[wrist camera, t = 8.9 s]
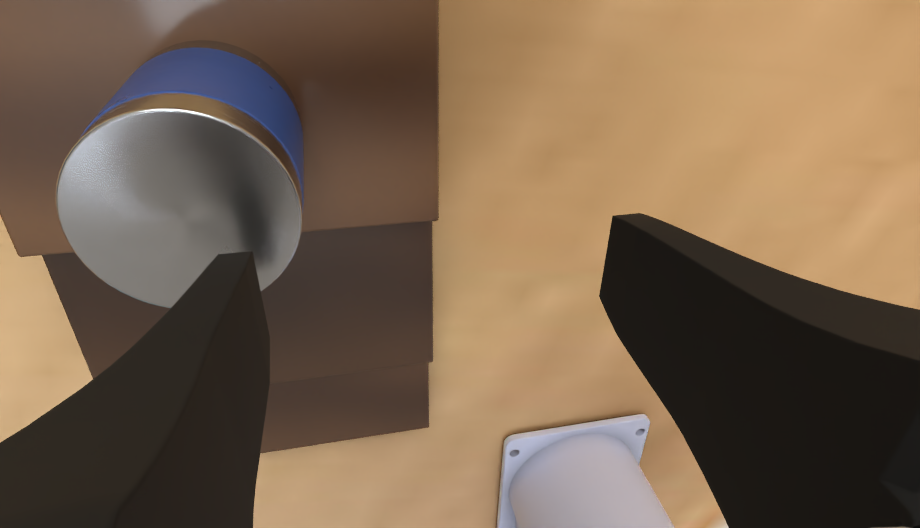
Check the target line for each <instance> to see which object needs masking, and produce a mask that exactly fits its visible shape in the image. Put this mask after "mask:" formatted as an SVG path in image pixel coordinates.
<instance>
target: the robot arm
mask: <svg viewBox="0 0 920 528" xmlns="http://www.w3.org/2000/svg"><path fill="white" fill-rule="evenodd" d="M599 297H600V299H601V302H602V304H603V306H604V308H605V311H606V313H607V315H608V317H609V319H610V321H611V323H612V325H613V328H614V330H615V332H616V334H617V335H618V337H619V338H620V340H621V342H622V343H623V345H624V346H625V348H626V349H627V351H628V352H629V354H630V355H631V357H632V358H633V360H634V361H635V363H636V364H637V366H638V367H639V369H640V370H641V372H642V373H643V375H644V376H645V378H646V379H647V381H648V382H649V384H650V385H651V387H652V388H653V389H654V391H655V392H656V394H657V395H658V397H659V398H660V400H661V401H662V403H663V404H664V406H665V407H666V409H667V410H668V412H669V413H670V415H671V416H672V418H673V419H674V421H675V423H676V424H677V426H678V428H679V429H680V431H681V433H682V434H683V436H684V438H685V440H686V442H687V444H688V446H689V448H690V449H691V451H692V453H693V455H694V457H695V459H696V461H697V463H698V465H699V467H700V469H701V470H702V472H703V474H704V476H705V478H706V481H707V483H708V485H709V487H710V489H711V491H712V493H713V495H714V497H715V499H716V501H717V503H718V505H719V507H720V509H721V512H722V514H723V516H724V518H725V520H726V522H727V525H728V527H729V528H920V310H918V309H913V308H908V307H903V306H899V305H895V304H891V303H887V302H882V301H878V300H874V299H870V298H866V297H862V296H858V295H854V294H851V293H847V292H844V291H840V290H837V289H833V288H830V287H827V286H824V285H821V284H818V283H814V282H811V281H808V280H805V279H802V278H799V277H796V276H793V275H790V274H787V273H785V272H782V271H779V270H777V269H774V268H772V267H769V266H766V265H764V264H761V263H759V262H756V261H753V260H751V259H749V258H746V257H744V256H741V255H739V254H737V253H734V252H732V251H730V250H727V249H725V248H723V247H720V246H718V245H716V244H714V243H711V242H709V241H707V240H705V239H702V238H700V237H698V236H696V235H693V234H691V233H689V232H687V231H684V230H682V229H680V228H678V227H675V226H673V225H671V224H668V223H666V222H663V221H661V220H658V219H656V218H653V217H650V216H647V215H644V214H640V213H638V214H627V215H617V216H613V217H612V223H611V229H610V235H609V241H608V247H607V253H606V259H605V265H604V271H603V277H602V283H601V289H600V295H599ZM269 385H270V335H269V330H268V325H267V320H266V315H265V310H264V305H263V300H262V295H261V290H260V285H259V280H258V275H257V270H256V265H255V261H254V256H253V251H246V252H236V253H226V254H218V255H217V256H216V257H215V258H214V260H213V261H212V262H211V263H210V264H209V265H208V266H207V267H206V268H205V270H204V271H203V272H202V273H201V274H200V275H199V277H198V278H197V279H196V280H195V281H194V282H193V284H192V285H191V286H190V287H189V288H188V289H187V291H186V292H185V293H184V294H183V295H182V296H181V297H180V298H179V300H178V301H177V302H176V303H175V304H174V305H173V306H172V307H171V308H170V309H169V311H168V312H167V313H166V314H165V315H164V316H163V317H162V318H161V319H160V320H159V321H158V322H157V323H156V324H155V325H154V326H153V327H152V328H151V329H150V330H149V331H148V332H147V333H146V334H145V335H144V336H143V337H142V338H141V339H140V340H139V341H138V342H137V343H135V344H134V345H133V346H132V347H131V348H130V349H129V350H128V351H127V352H126V353H125V354H123V355H122V356H121V357H120V358H119V359H118V360H116V361H115V362H114V363H113V364H112V365H111V366H109V367H108V368H107V369H106V370H104V371H103V372H102V373H101V374H99V375H98V376H97V377H96V378H94V379H93V380H92V381H91V382H89V383H88V384H87V385H85V386H84V387H83V388H81V389H80V390H79V391H77V392H76V393H75V394H73V395H72V396H70V397H69V398H67V399H66V400H64V401H63V402H62V403H60V404H59V405H57V406H56V407H54V408H53V409H51V410H50V411H48V412H47V413H46V414H44V415H43V416H41V417H40V418H38V419H37V420H35V421H34V422H32V423H31V424H30V425H28V426H27V427H25V428H23V429H22V430H20V431H19V432H17V433H15V434H14V435H12V436H10V437H9V438H7V439H6V440H4V441H2V442H1V443H0V528H253V507H254V497H255V486H256V478H257V471H258V464H259V457H260V450H261V443H262V436H263V429H264V422H265V415H266V407H267V400H268V392H269ZM649 426H650V420H649V419H648V417H647V416H646V415H645V414H637V415H631V416H625V417H619V418H612V419H606V420H600V421H594V422H588V423H581V424H575V425H569V426H563V427H557V428H550V429H544V430H538V431H532V432H526V433H519V434H513V435H510V436H508V437H507V438H506V439H505V441H504V446H503V457H502V469H501V481H500V493H499V505H498V516H497V528H675V527H674V525H673V524H672V522H671V520H670V518H669V517H668V515H667V513H666V511H665V510H664V508H663V506H662V505H661V503H660V501H659V499H658V498H657V496H656V494H655V492H654V491H653V489H652V487H651V485H650V484H649V482H648V480H647V478H646V477H645V475H644V473H643V471H642V470H641V468H640V466H639V463H640V459H641V455H642V452H643V448H644V444H645V441H646V437H647V433H648V429H649Z"/></svg>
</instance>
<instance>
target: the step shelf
mask: <svg viewBox="0 0 920 528" xmlns="http://www.w3.org/2000/svg"><path fill="white" fill-rule="evenodd" d="M195 40H211V41H218V42H224V43H227V44H231V45H234V46H237V47H240V48H242V49H244V50H247V51H249V52H251V53H252V54H254V55H256V56H258V57H259V58H261V59H262V60H263V61H265V62H266V63H267V64H269V65H270V66H271V67H272V68H273V69H274V70H275V71H276V72H277V73H278V74H279V75H280V76H281V77H282V79H283V80H284V81H285V82H286V84H287V85H288V87H289V88H290V90H291V92H292V94H293V96H294V98H295V100H296V102H297V105H298V108H299V111H300V116H301V121H302V131H303V152H304V205H303V214H302V218H303V221H302V232H301V237H300V241H299V245H298V247H297V250H296V252H295V254H294V257H293V258H292V260H291V262H290V263H289V265H288V267H287V268H286V269H285V270H284V271H283V273H282V274H281V275H280V276H279V277H278V278H277V279H276V280H275V281H274V282H273V283H271V284H270V285H269V286H268V287H266V288H265V289H263V290H262V291H261V295H262V300H263V305H264V310H265V315H266V320H267V325H268V330H269V335H270V385H269V392H268V400H267V407H266V415H265V422H264V429H263V436H262V443H261V450H260V453H266V452H272V451H279V450H285V449H292V448H298V447H305V446H311V445H318V444H324V443H330V442H337V441H343V440H350V439H356V438H363V437H369V436H376V435H382V434H389V433H395V432H402V431H408V430H415V429H421V428H428V427H429V389H428V363H429V362H433V272H432V221H435V220H438V218H439V0H0V215H1V217H2V220H3V222H4V224H5V226H6V229H7V231H8V233H9V235H10V238H11V240H12V242H13V245H14V247H15V249H16V251H17V254H18V255H19V256H20V257H26V256H37V255H42V256H43V259H44V261H45V264H46V266H47V268H48V271H49V273H50V276H51V278H52V280H53V283H54V285H55V288H56V290H57V293H58V295H59V297H60V300H61V302H62V305H63V307H64V309H65V312H66V314H67V317H68V319H69V321H70V324H71V326H72V329H73V331H74V334H75V336H76V338H77V341H78V343H79V346H80V348H81V350H82V353H83V355H84V358H85V360H86V362H87V365H88V367H89V370H90V372H91V375H92V377H93V379H94V378H96V377H97V376H98V375H99V374H101V373H102V372H103V371H104V370H106V369H107V368H108V367H109V366H111V365H112V364H113V363H114V362H115V361H116V360H118V359H119V358H120V357H121V356H122V355H123V354H125V353H126V352H127V351H128V350H129V349H130V348H131V347H132V346H133V345H134V344H135V343H137V342H138V341H139V340H140V339H141V338H142V337H143V336H144V335H145V334H146V333H147V332H148V331H149V330H150V329H151V328H152V327H153V326H154V325H155V324H156V323H157V322H158V321H159V320H160V319H161V318H162V317H163V316H164V315H165V314H166V313H167V312H168V311H169V309H170V308H166V307H162V306H157V305H153V304H149V303H146V302H143V301H141V300H138V299H135V298H133V297H131V296H128V295H126V294H124V293H122V292H120V291H118V290H117V289H115V288H113V287H112V286H110V285H108V284H107V283H106V282H104V281H103V280H102V279H100V278H99V277H97V276H96V275H95V274H94V273H93V272H92V271H91V270H90V269H89V268H88V267H86V266H85V264H84V263H83V262H82V261H81V260H80V259H79V257H78V256H77V255H76V254H75V252H74V251H73V249H72V248H71V246H70V244H69V243H68V241H67V239H66V237H65V235H64V233H63V230H62V228H61V225H60V221H59V218H58V215H57V207H56V184H57V180H58V175H59V171H60V169H61V167H62V164H63V162H64V159H65V158H66V156H67V155H68V153H69V152H70V150H71V148H72V147H73V146H74V145H75V143H76V142H77V141H78V140H79V138H80V137H81V135H82V134H83V132H84V130H85V129H86V128H87V126H88V125H89V124H90V123H91V122H92V121H93V119H94V118H95V117H96V116H97V115H98V114H99V112H100V111H101V110H102V109H103V108H104V107H105V105H106V104H107V103H108V102H109V101H110V100H111V98H112V97H113V96H114V95H115V94H116V93H117V91H118V90H119V89H120V88H121V87H122V86H123V84H124V83H125V82H126V81H127V80H128V79H129V77H130V76H131V75H132V74H133V73H134V72H135V71H136V70H137V69H138V68H139V67H140V66H142V65H143V64H144V62H145V61H146V60H148V59H149V58H150V57H151V56H153V55H154V54H155V53H157V52H159V51H161V50H162V49H164V48H166V47H169V46H172V45H174V44H177V43H182V42H186V41H195Z"/></svg>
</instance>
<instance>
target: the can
mask: <svg viewBox="0 0 920 528" xmlns="http://www.w3.org/2000/svg"><path fill="white" fill-rule="evenodd" d="M303 205H304V152H303V131H302V121H301V116H300V111H299V108H298V105H297V102H296V100H295V98H294V96H293V94H292V92H291V90H290V88H289V87H288V85H287V84H286V82H285V81H284V80H283V79H282V77H281V76H280V75H279V74H278V73H277V72H276V71H275V70H274V69H273V68H272V67H271V66H270V65H269V64H267V63H266V62H265V61H263V60H262V59H261V58H259V57H258V56H256V55H254V54H252V53H251V52H249V51H247V50H244V49H242V48H240V47H237V46H234V45H231V44H227V43H224V42H218V41H211V40H195V41H186V42H182V43H177V44H174V45H172V46H169V47H166V48H164V49H162V50H161V51H159V52H157V53H155V54H154V55H153V56H151V57H150V58H149V59H148V60H146V61H145V62H144V64H143V65H142V66H140V67H139V68H138V69H137V70H136V71H135V72H134V73H133V74H132V75H131V76H130V77H129V79H128V80H127V81H126V82H125V83H124V84H123V86H122V87H121V88H120V89H119V90H118V91H117V93H116V94H115V95H114V96H113V97H112V98H111V100H110V101H109V102H108V103H107V104H106V105H105V107H104V108H103V109H102V110H101V111H100V112H99V114H98V115H97V116H96V117H95V118H94V119H93V121H92V122H91V123H90V124H89V125H88V126H87V128H86V129H85V130H84V132H83V134H82V135H81V137H80V138H79V140H78V141H77V142H76V143H75V145H74V146H73V147H72V148H71V150H70V152H69V153H68V155H67V156H66V158H65V159H64V162H63V164H62V167H61V169H60V171H59V175H58V180H57V184H56V207H57V215H58V218H59V221H60V225H61V228H62V230H63V233H64V235H65V237H66V239H67V241H68V243H69V244H70V246H71V248H72V249H73V251H74V252H75V254H76V255H77V256H78V257H79V259H80V260H81V261H82V262H83V263H84V264H85V266H86V267H88V268H89V269H90V270H91V271H92V272H93V273H94V274H95V275H96V276H97V277H99V278H100V279H102V280H103V281H104V282H106V283H107V284H108V285H110V286H112V287H113V288H115V289H117V290H118V291H120V292H122V293H124V294H126V295H128V296H131V297H133V298H135V299H138V300H141V301H143V302H146V303H149V304H153V305H157V306H162V307H166V308H171V307H172V306H173V305H174V304H175V303H176V302H177V301H178V300H179V298H180V297H181V296H182V295H183V294H184V293H185V292H186V291H187V289H188V288H189V287H190V286H191V285H192V284H193V282H194V281H195V280H196V279H197V278H198V277H199V275H200V274H201V273H202V272H203V271H204V270H205V268H206V267H207V266H208V265H209V264H210V263H211V262H212V261H213V260H214V258H215V257H216V256H217V255H218V254H226V253H236V252H246V251H253V256H254V261H255V265H256V270H257V275H258V280H259V285H260V290H261V291H262V290H263V289H265V288H266V287H268V286H269V285H270V284H271V283H273V282H274V281H275V280H276V279H277V278H278V277H279V276H280V275H281V274H282V273H283V271H284V270H285V269H286V268H287V267H288V265H289V263H290V262H291V260H292V258H293V257H294V254H295V252H296V250H297V247H298V245H299V241H300V237H301V232H302V221H303V218H302V214H303Z"/></svg>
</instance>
